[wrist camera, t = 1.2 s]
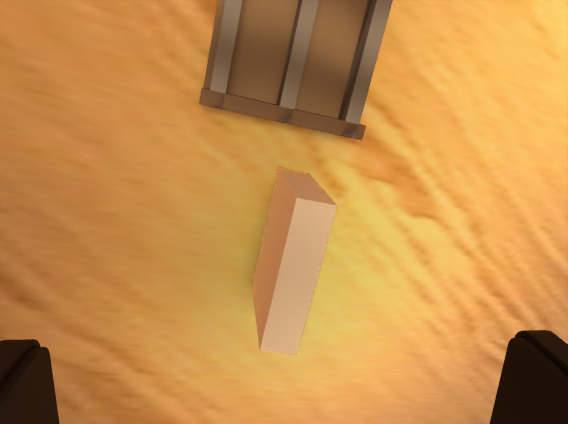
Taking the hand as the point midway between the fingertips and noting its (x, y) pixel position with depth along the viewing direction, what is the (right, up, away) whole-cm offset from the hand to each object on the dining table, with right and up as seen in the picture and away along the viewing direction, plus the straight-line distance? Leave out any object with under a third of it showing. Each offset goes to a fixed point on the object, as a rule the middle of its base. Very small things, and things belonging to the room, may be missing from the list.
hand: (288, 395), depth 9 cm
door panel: (0, +2, +25) cm, 25 cm away
